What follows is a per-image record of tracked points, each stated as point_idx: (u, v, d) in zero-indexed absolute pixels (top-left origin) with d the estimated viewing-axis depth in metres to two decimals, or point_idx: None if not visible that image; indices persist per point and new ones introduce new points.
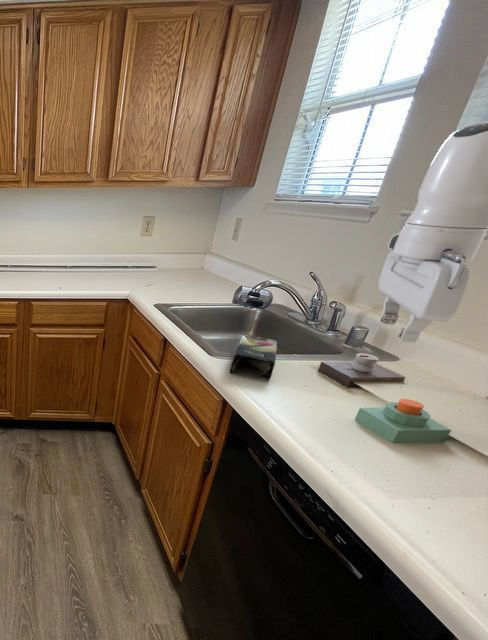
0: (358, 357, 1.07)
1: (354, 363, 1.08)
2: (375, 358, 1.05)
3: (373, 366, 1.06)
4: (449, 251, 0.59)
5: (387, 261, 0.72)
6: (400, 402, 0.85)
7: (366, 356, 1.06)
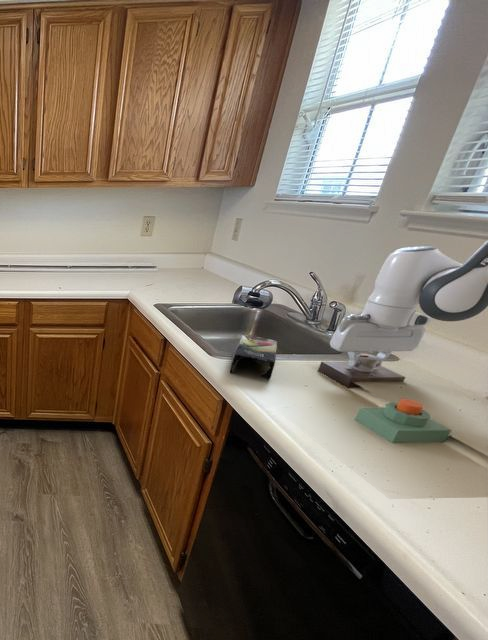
0: (358, 357, 1.07)
1: None
2: (375, 358, 1.05)
3: (373, 366, 1.06)
4: (362, 314, 1.02)
5: None
6: (400, 402, 0.85)
7: (366, 356, 1.06)
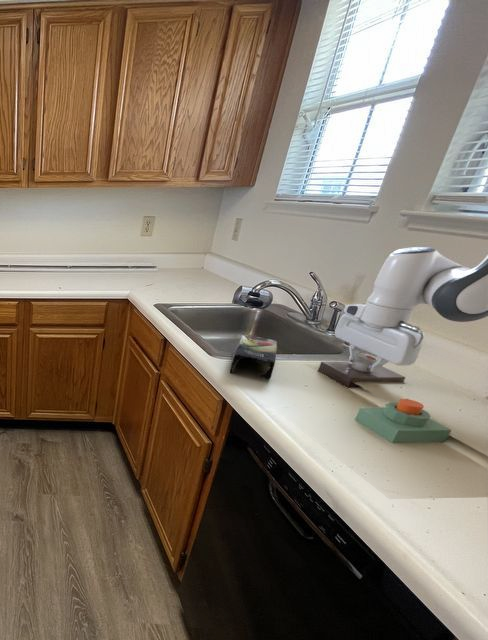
0: (373, 361, 1.05)
1: None
2: (369, 355, 1.07)
3: None
4: (405, 323, 0.97)
5: (342, 320, 1.11)
6: (400, 402, 0.85)
7: (370, 356, 1.06)
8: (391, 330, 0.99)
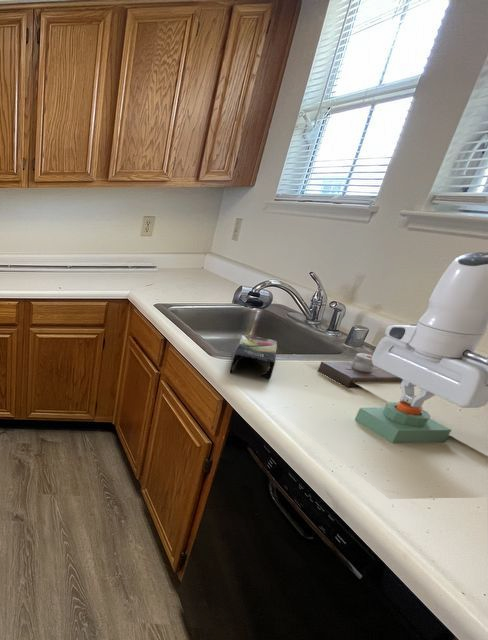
0: None
1: (368, 367, 1.06)
2: (369, 355, 1.07)
3: None
4: (473, 353, 0.74)
5: (383, 344, 0.88)
6: (399, 404, 0.85)
7: (370, 356, 1.06)
8: (453, 361, 0.76)
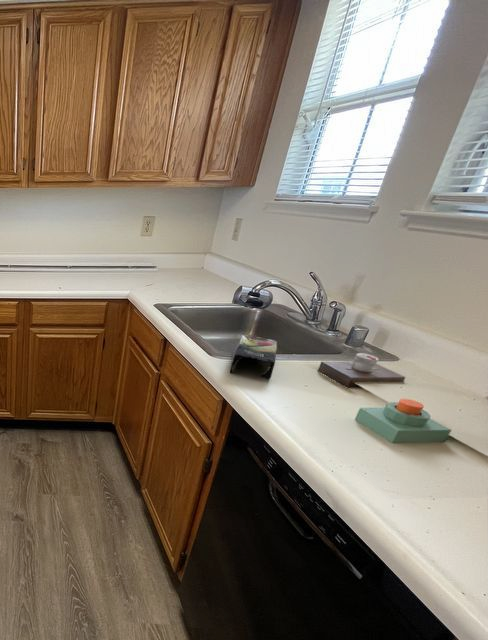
0: (373, 361, 1.05)
1: (368, 367, 1.06)
2: (369, 355, 1.07)
3: None
4: None
5: None
6: (400, 402, 0.85)
7: (370, 356, 1.06)
8: None
